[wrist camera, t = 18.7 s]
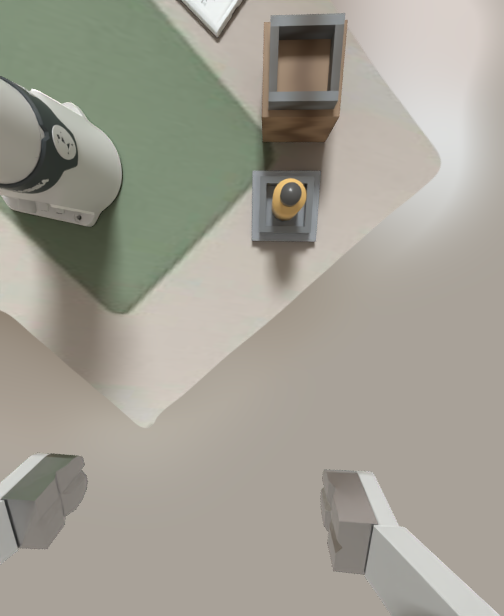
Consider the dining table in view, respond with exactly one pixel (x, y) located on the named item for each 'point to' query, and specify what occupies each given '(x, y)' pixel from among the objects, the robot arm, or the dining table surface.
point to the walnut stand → (302, 76)
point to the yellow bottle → (288, 199)
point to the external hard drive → (213, 12)
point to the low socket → (262, 216)
